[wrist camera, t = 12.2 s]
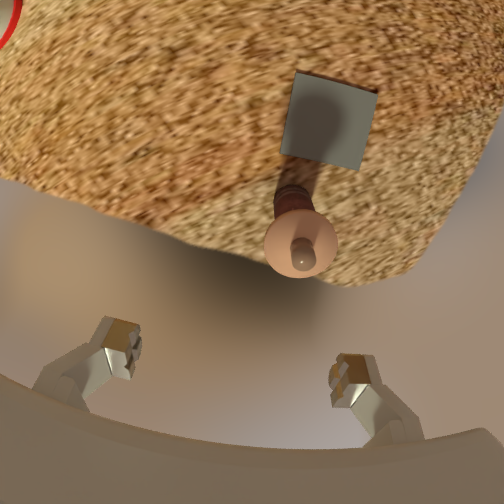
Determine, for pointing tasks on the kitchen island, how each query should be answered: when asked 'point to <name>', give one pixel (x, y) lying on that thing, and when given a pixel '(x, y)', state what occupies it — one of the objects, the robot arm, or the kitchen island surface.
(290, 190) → the can
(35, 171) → the kitchen island surface
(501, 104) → the kitchen island surface
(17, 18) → the container
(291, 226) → the lid
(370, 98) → the mat
